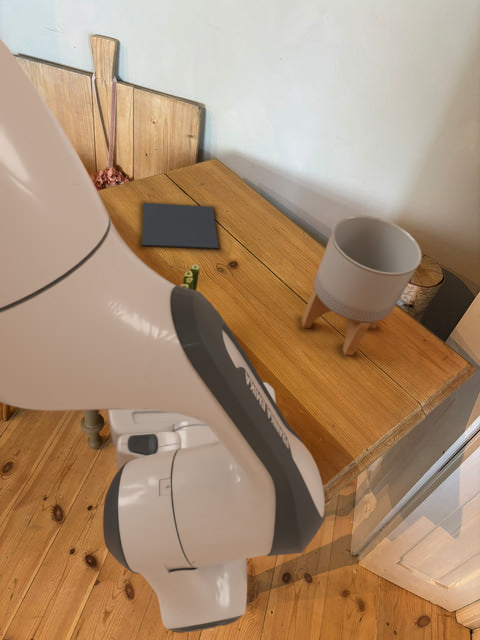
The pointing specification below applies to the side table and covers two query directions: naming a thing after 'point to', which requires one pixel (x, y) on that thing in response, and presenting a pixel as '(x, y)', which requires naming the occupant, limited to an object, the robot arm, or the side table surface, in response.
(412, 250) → the planter
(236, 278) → the side table surface
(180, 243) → the mat
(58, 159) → the robot arm
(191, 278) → the fennel bulb
